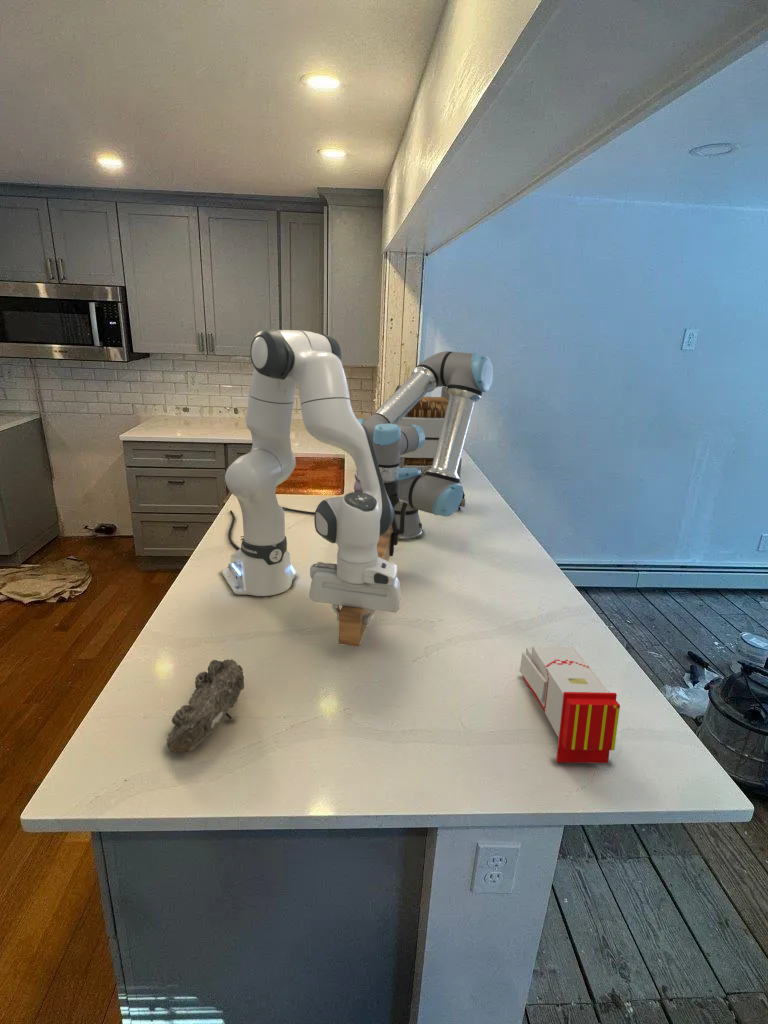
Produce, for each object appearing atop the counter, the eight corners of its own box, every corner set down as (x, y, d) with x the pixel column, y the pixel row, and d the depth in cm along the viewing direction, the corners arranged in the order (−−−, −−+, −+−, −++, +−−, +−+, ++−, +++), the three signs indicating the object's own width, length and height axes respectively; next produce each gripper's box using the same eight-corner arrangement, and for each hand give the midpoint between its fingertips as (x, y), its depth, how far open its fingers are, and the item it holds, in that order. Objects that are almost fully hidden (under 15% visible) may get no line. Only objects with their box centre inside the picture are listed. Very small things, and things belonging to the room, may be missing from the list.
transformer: (382, 463, 289) (386, 382, 275) (445, 464, 293) (451, 384, 279) (390, 482, 257) (394, 392, 243) (460, 483, 261) (468, 394, 247)
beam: (377, 548, 174) (378, 524, 172) (392, 549, 174) (393, 526, 171) (338, 644, 125) (338, 613, 122) (359, 646, 124) (360, 615, 122)
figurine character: (465, 515, 224) (460, 499, 237) (467, 498, 221) (462, 483, 234) (448, 515, 224) (444, 499, 237) (450, 498, 220) (445, 482, 234)
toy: (568, 628, 125) (630, 701, 96) (562, 684, 128) (620, 770, 99) (514, 627, 125) (559, 699, 96) (509, 683, 128) (551, 770, 98)
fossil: (192, 660, 117) (244, 628, 112) (224, 691, 120) (276, 661, 115) (142, 746, 98) (202, 712, 93) (182, 779, 101) (242, 748, 96)
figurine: (357, 501, 231) (358, 465, 226) (347, 493, 240) (348, 459, 235) (378, 498, 235) (379, 463, 230) (367, 491, 244) (368, 457, 239)
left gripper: (306, 567, 121) (305, 622, 126) (400, 579, 119) (395, 635, 124) (314, 555, 127) (312, 608, 132) (404, 566, 125) (399, 620, 130)
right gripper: (352, 480, 159) (351, 556, 167) (415, 485, 157) (411, 561, 165) (356, 473, 166) (355, 546, 174) (417, 477, 164) (413, 551, 172)
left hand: (353, 621), depth 128 cm, fingers closed on beam, 5 cm apart
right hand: (382, 553), depth 169 cm, fingers closed on beam, 5 cm apart
